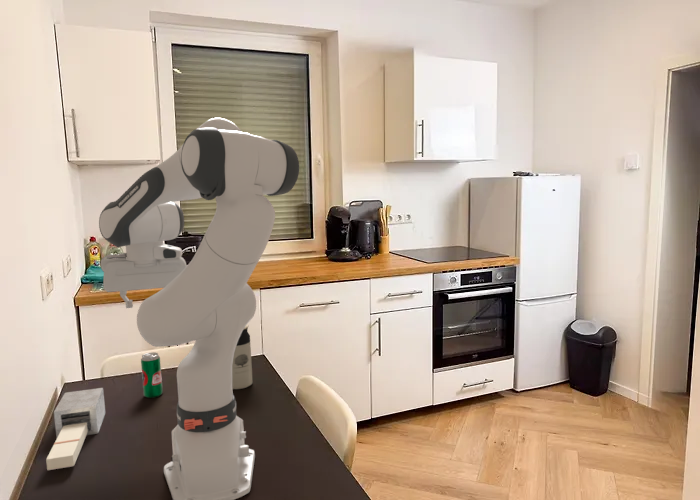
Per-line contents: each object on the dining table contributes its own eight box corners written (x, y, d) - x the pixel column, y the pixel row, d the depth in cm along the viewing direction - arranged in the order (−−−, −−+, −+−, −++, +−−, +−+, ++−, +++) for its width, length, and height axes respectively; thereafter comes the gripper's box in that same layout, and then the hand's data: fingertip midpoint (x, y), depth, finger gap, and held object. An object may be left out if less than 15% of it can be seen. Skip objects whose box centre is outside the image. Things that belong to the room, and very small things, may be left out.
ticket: (74, 465, 110) (72, 454, 109) (47, 470, 108) (46, 459, 108) (87, 431, 125) (86, 422, 125) (64, 435, 123) (63, 425, 123)
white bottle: (224, 381, 158) (220, 324, 155) (250, 378, 160) (247, 321, 158) (226, 391, 150) (222, 331, 148) (254, 387, 153) (250, 328, 150)
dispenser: (98, 433, 127) (95, 405, 126) (56, 439, 124) (53, 411, 123) (105, 412, 138) (103, 387, 137) (67, 418, 136) (65, 392, 135)
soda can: (156, 399, 146) (153, 358, 145) (140, 398, 147) (136, 357, 146) (166, 392, 151) (163, 352, 149) (150, 391, 152) (147, 351, 150)
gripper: (97, 256, 125) (102, 312, 127) (187, 250, 131) (190, 304, 133) (101, 253, 131) (106, 306, 133) (187, 248, 137) (190, 299, 138)
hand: (149, 305), depth 133 cm, fingers open, 8 cm apart
